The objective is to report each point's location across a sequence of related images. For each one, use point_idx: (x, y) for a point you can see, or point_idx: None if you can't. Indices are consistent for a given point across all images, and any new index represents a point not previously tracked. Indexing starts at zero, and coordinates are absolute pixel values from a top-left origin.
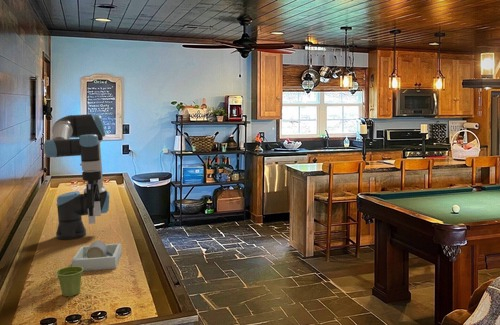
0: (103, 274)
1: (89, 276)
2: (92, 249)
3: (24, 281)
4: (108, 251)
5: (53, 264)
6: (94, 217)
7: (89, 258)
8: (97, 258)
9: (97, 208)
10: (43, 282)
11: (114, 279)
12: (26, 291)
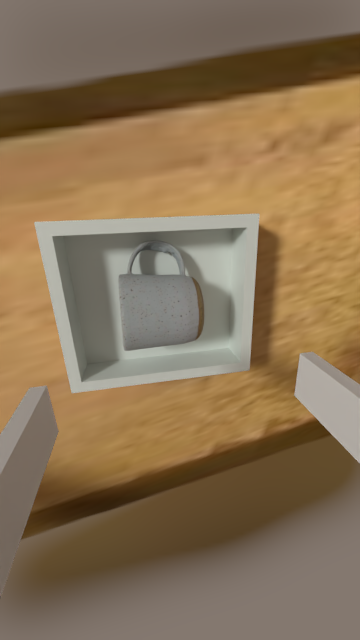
0: (283, 250)
1: (286, 291)
2: (203, 324)
3: (265, 439)
4: (69, 278)
5: (145, 427)
6: (347, 380)
7: (244, 316)
8: (254, 285)
9: (25, 466)
10: (288, 396)
11: (342, 202)
12: None
